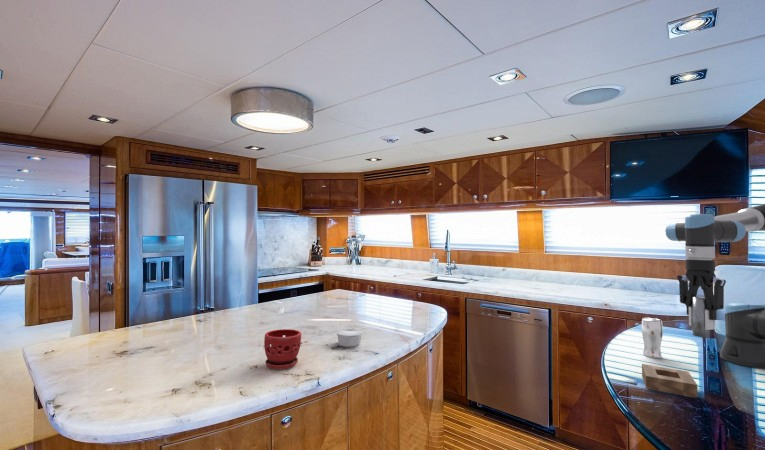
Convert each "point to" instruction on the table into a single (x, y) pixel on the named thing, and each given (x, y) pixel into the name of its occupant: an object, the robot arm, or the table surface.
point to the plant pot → (282, 348)
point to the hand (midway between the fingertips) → (701, 327)
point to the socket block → (669, 380)
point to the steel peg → (699, 317)
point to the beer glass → (652, 337)
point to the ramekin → (349, 337)
